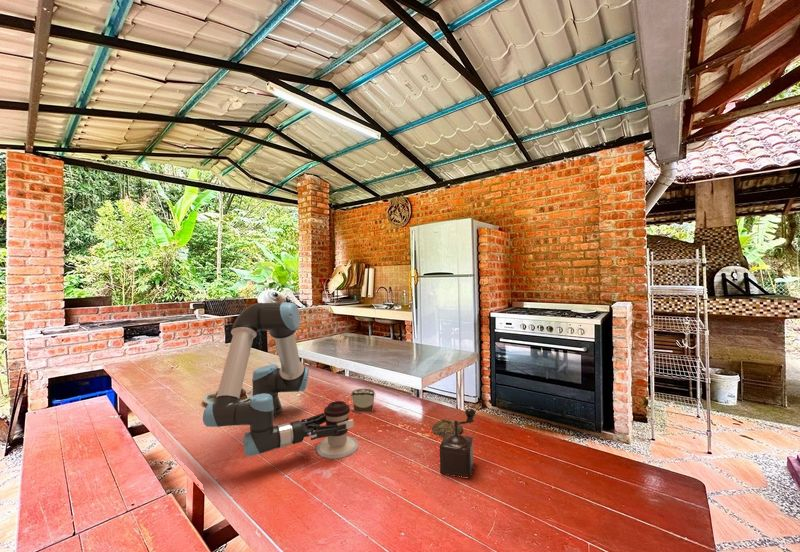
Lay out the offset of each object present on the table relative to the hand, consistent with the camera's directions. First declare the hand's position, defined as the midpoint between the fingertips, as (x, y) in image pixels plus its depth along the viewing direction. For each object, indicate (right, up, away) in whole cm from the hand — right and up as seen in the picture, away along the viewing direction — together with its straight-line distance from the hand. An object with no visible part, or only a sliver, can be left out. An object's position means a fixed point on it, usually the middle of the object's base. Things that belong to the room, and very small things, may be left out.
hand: (347, 418), depth 130 cm
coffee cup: (-4, -8, -3) cm, 10 cm away
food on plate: (-74, -12, +50) cm, 91 cm away
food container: (+3, -11, +34) cm, 35 cm away
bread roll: (+41, -10, +10) cm, 44 cm away
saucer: (-4, -10, -3) cm, 11 cm away
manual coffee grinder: (+42, -10, -15) cm, 46 cm away
